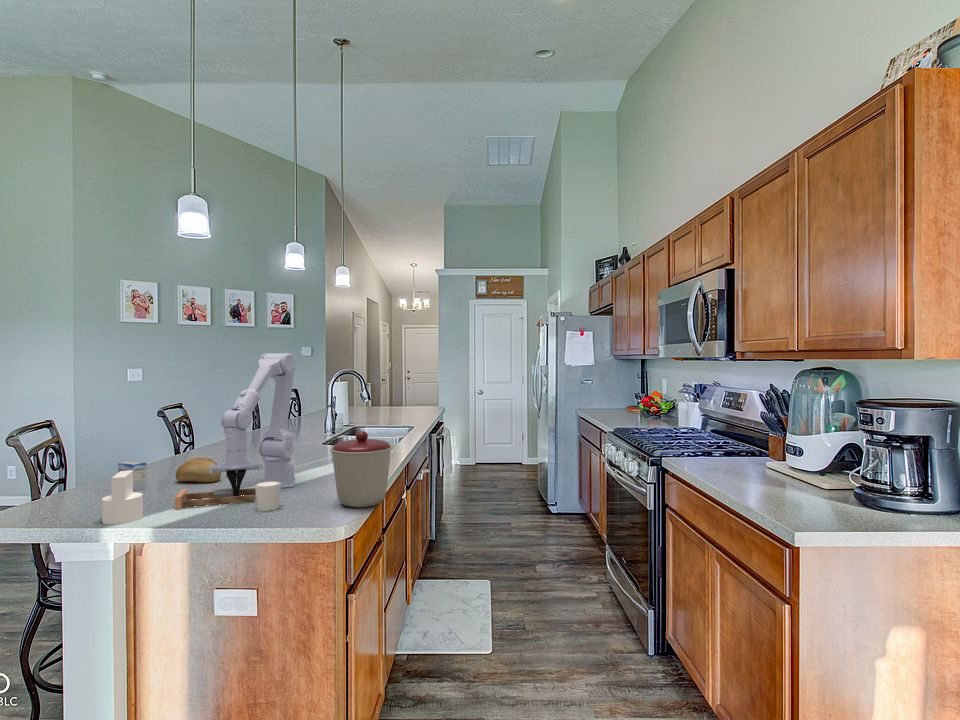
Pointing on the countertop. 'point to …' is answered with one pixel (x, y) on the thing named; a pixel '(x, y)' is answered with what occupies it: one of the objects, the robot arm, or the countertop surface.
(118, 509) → the base with upright slab
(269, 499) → the white cylinder
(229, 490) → the block
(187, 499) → the rail lane
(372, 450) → the canister
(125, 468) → the medicine box
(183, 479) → the bread roll
